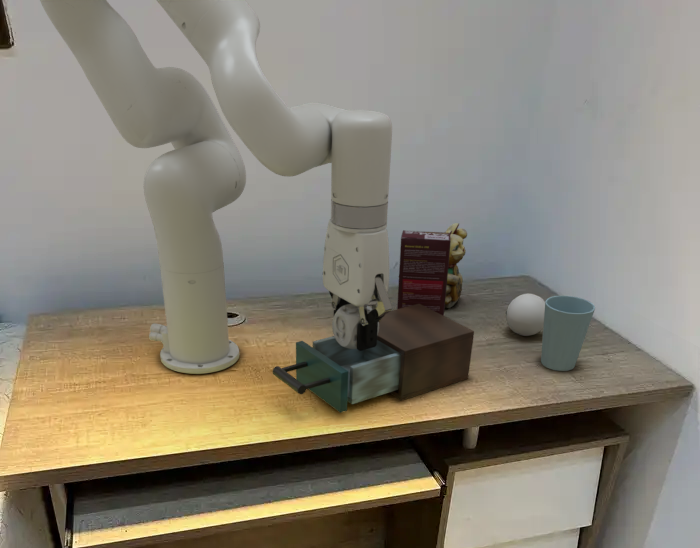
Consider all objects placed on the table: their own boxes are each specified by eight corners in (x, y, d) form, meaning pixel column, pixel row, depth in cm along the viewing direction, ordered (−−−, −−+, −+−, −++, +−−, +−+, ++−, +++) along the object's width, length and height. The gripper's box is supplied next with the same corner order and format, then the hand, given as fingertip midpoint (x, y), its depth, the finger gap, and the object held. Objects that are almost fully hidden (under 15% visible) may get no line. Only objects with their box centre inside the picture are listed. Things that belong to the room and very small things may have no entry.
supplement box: (442, 317, 137) (451, 231, 128) (442, 328, 133) (452, 240, 124) (396, 314, 137) (402, 229, 128) (394, 325, 133) (400, 237, 124)
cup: (590, 364, 122) (604, 304, 116) (566, 379, 117) (579, 317, 112) (551, 350, 126) (562, 291, 121) (525, 363, 122) (536, 303, 116)
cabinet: (401, 400, 110) (404, 351, 105) (350, 367, 118) (351, 320, 114) (468, 378, 116) (474, 331, 112) (415, 348, 125) (419, 303, 121)
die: (378, 344, 107) (380, 312, 104) (350, 352, 105) (351, 319, 102) (359, 332, 111) (360, 301, 108) (331, 339, 108) (331, 307, 105)
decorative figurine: (453, 313, 138) (462, 233, 130) (411, 306, 141) (417, 227, 132) (465, 296, 146) (474, 220, 138) (425, 290, 148) (432, 214, 140)
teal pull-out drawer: (307, 423, 102) (307, 383, 98) (264, 389, 110) (263, 350, 106) (408, 390, 111) (411, 352, 107) (362, 361, 118) (363, 324, 115)
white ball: (553, 339, 130) (561, 299, 126) (518, 345, 128) (525, 305, 123) (520, 318, 138) (527, 280, 134) (487, 323, 135) (492, 285, 131)
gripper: (300, 202, 101) (301, 326, 111) (375, 235, 90) (368, 369, 100) (345, 196, 105) (342, 316, 115) (422, 226, 94) (411, 356, 104)
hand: (354, 339), depth 107 cm, fingers closed on die, 5 cm apart
